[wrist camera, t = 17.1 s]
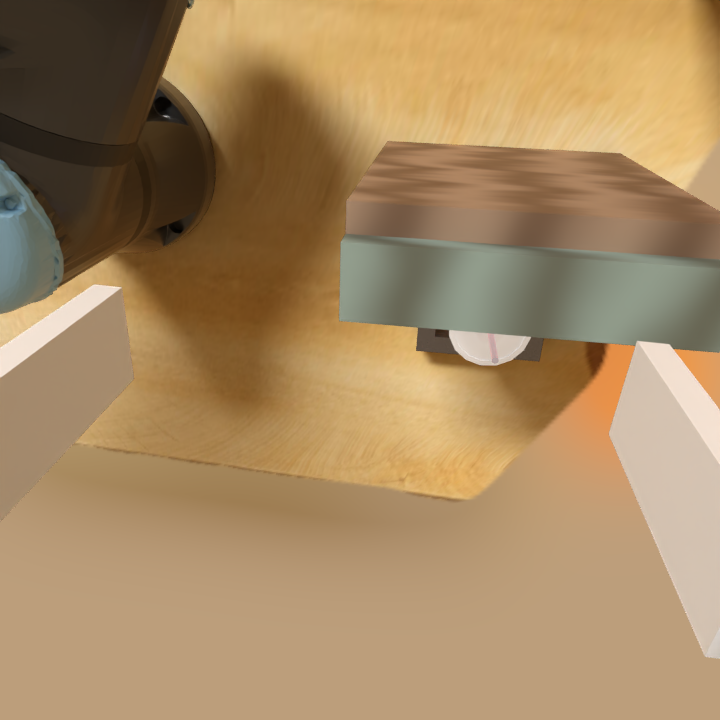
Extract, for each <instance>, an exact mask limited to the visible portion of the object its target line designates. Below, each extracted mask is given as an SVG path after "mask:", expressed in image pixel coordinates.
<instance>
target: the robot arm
mask: <svg viewBox="0 0 720 720" xmlns="http://www.w3.org/2000/svg"><path fill="white" fill-rule="evenodd" d="M193 4H194V0H0V314H3V313H7V312H11V311H14V310H16V309H18V308H21V307H23V306H26V305H28V304H30V303H33V302H38V301H41V300H43V299H45V298H47V297H48V296H49V295H52V294H53V291H55V290H57V288H58V287H60V286H62V285H63V284H65V283H67V282H68V281H70V280H72V279H73V278H75V277H76V276H78V275H80V274H81V273H83V272H85V271H86V270H88V269H90V268H91V267H93V266H94V265H96V264H98V263H99V262H101V261H103V260H104V259H106V258H108V257H109V256H111V255H112V254H114V253H116V252H121V253H143V252H150V251H155V250H158V249H161V248H164V247H167V246H169V245H171V244H173V243H174V242H176V241H177V240H179V239H180V238H182V237H183V236H185V235H186V234H187V233H189V232H190V231H191V230H192V229H193V228H194V227H195V226H196V225H197V224H198V223H199V222H200V220H201V219H202V217H203V216H204V214H205V213H206V211H207V209H208V206H209V204H210V201H211V199H212V195H213V191H214V185H215V160H214V154H213V149H212V145H211V142H210V138H209V136H208V133H207V131H206V128H205V126H204V124H203V122H202V120H201V118H200V117H199V115H198V113H197V112H196V110H195V109H194V107H193V106H192V105H191V103H190V102H189V101H188V100H187V98H186V97H185V96H184V95H183V94H182V93H181V92H180V91H179V90H178V89H177V88H176V87H175V86H173V85H172V84H171V83H170V82H168V81H167V80H166V79H164V78H163V77H162V75H163V73H164V70H165V67H166V64H167V61H168V59H169V56H170V53H171V50H172V48H173V45H174V42H175V39H176V36H177V34H178V31H179V28H180V25H181V23H182V20H183V17H184V14H185V11H186V9H187V8H188V9H191V8H192V6H193ZM133 379H134V374H133V367H132V359H131V352H130V344H129V336H128V329H127V321H126V314H125V306H124V299H123V291H122V287H114V286H104V285H95V284H94V285H92V286H91V287H90V288H88V289H87V290H85V291H84V292H82V293H81V294H79V295H78V296H76V297H75V298H73V299H72V300H70V301H69V302H67V303H66V304H64V305H63V306H61V307H60V308H58V309H57V310H56V311H54V312H53V313H51V314H50V315H48V316H47V317H45V318H44V319H42V320H41V321H39V322H38V323H36V324H35V325H33V326H32V327H30V328H29V329H27V330H26V331H24V332H23V333H22V334H20V335H19V336H17V337H16V338H14V339H13V340H11V341H10V342H8V343H7V344H5V345H4V346H2V347H1V348H0V522H1V521H2V520H3V519H4V518H5V516H6V515H7V514H8V513H9V512H10V511H11V510H12V509H13V508H14V507H15V506H16V505H17V504H18V502H19V501H20V500H21V499H22V498H23V497H24V496H25V495H26V494H27V493H28V492H29V491H30V490H31V489H32V488H33V486H34V485H35V484H36V483H37V482H38V481H39V480H40V479H41V478H42V477H43V476H44V475H45V474H46V473H47V472H48V470H49V469H50V468H51V467H52V466H53V465H54V464H55V463H56V462H57V461H58V460H59V459H60V458H61V456H62V455H63V454H64V453H65V452H66V451H67V450H68V449H69V448H70V447H71V446H72V445H73V444H74V443H75V442H76V440H77V439H78V438H79V437H80V436H81V435H82V434H83V433H84V432H85V431H86V430H87V429H88V428H89V427H90V425H91V424H92V423H93V422H94V421H95V420H96V419H97V418H98V417H99V416H100V415H101V414H102V413H103V412H104V411H105V409H106V408H107V407H108V406H109V405H110V404H111V403H112V402H113V401H114V400H115V399H116V398H117V397H118V396H119V394H120V393H121V392H122V391H123V390H124V389H125V388H126V387H127V386H128V385H129V384H130V383H131V382H132V381H133ZM609 436H610V438H611V441H612V443H613V445H614V448H615V450H616V452H617V455H618V457H619V459H620V462H621V464H622V466H623V469H624V470H625V473H626V475H627V478H628V480H629V482H630V485H631V487H632V489H633V492H634V494H635V496H636V498H637V501H638V503H639V505H640V508H641V510H642V512H643V515H644V517H645V519H646V522H647V524H648V526H649V529H650V531H651V533H652V535H653V538H654V540H655V542H656V545H657V547H658V549H659V552H660V554H661V556H662V559H663V561H664V563H665V566H666V568H667V570H668V572H669V575H670V577H671V580H672V582H673V584H674V586H675V589H676V591H677V593H678V596H679V598H680V600H681V603H682V605H683V607H684V610H685V612H686V614H687V617H688V619H689V621H690V623H691V626H692V628H693V630H694V633H695V635H696V637H697V640H698V642H699V644H700V647H701V649H702V651H703V654H704V656H705V657H711V658H718V659H720V410H719V408H718V407H717V405H716V404H715V403H714V402H713V400H712V399H711V398H710V396H709V395H708V394H707V392H706V391H705V390H704V389H703V387H702V386H701V385H700V384H699V382H698V381H697V380H696V378H695V377H694V376H693V374H692V373H691V372H690V370H689V369H688V368H687V367H686V365H685V364H684V363H683V361H682V360H681V359H680V357H679V356H678V355H677V354H676V352H675V351H674V350H673V348H672V347H671V346H670V344H663V343H653V342H643V341H637V343H636V346H635V349H634V353H633V356H632V359H631V363H630V366H629V369H628V372H627V376H626V379H625V382H624V385H623V388H622V392H621V395H620V399H619V402H618V405H617V408H616V412H615V415H614V418H613V421H612V425H611V428H610V431H609Z"/></svg>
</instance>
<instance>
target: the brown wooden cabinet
mask: <svg viewBox="0 0 720 720" xmlns="http://www.w3.org/2000/svg"><path fill="white" fill-rule="evenodd" d="M339 321H347V322H359V323H371V324H383V325H395V326H406V327H418V328H430V329H442V330H454V331H466V332H478V333H490V334H502V335H514V336H526V337H538V338H550V339H562V340H574V341H586V342H598V343H610V344H622V345H634V346H636V343H637V341H643V342H653V343H663V344H670V346H671V347H672V348H673V349H682V350H693V351H694V350H695V351H705V352H706V351H707V352H718V353H719V352H720V211H718V210H716V209H715V208H713V207H711V206H710V205H708V204H706V203H704V202H703V201H701V200H699V199H698V198H696V197H694V196H692V195H691V194H689V193H687V192H686V191H684V190H682V189H680V188H679V187H677V186H675V185H674V184H672V183H670V182H668V181H667V180H665V179H663V178H662V177H660V176H658V175H656V174H655V173H653V172H651V171H650V170H648V169H646V168H644V167H643V166H641V165H639V164H638V163H636V162H634V161H632V160H631V159H629V158H627V157H626V156H624V155H622V154H620V153H601V152H582V151H563V150H544V149H525V148H506V147H487V146H468V145H449V144H430V143H411V142H392V141H388V142H387V143H386V145H385V146H384V147H383V149H382V150H381V152H380V153H379V155H378V156H377V158H376V159H375V160H374V162H373V163H372V165H371V166H370V168H369V169H368V170H367V172H366V173H365V175H364V176H363V178H362V179H361V180H360V182H359V183H358V185H357V186H356V188H355V189H354V191H353V192H352V193H351V195H350V196H349V198H348V199H347V201H346V234H345V236H344V237H343V239H342V241H341V254H340V307H339Z"/></svg>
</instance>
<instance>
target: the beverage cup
mask: <svg viewBox="0 0 720 720" xmlns="http://www.w3.org/2000/svg"><path fill="white" fill-rule="evenodd" d="M449 337H450V340H451V342H452V344H453V346H454V349H455V350H456V351H457V352H458V353H459V354H460V355H461V356H462V357H463V358H464V359H466V360H468V361H470V362H473V363H476V364H478V365H499V364H502V363H505V362H508V361H511V360H512V359H514V358H515V357H516V356H517V355H519V354H520V353H521V352H522V351H524V349H525V347H526V345H527V344H528V342H529V340H530V338H531V337H526V336H514V335H502V334H490V333H478V332H466V331H454V330H449Z"/></svg>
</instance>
